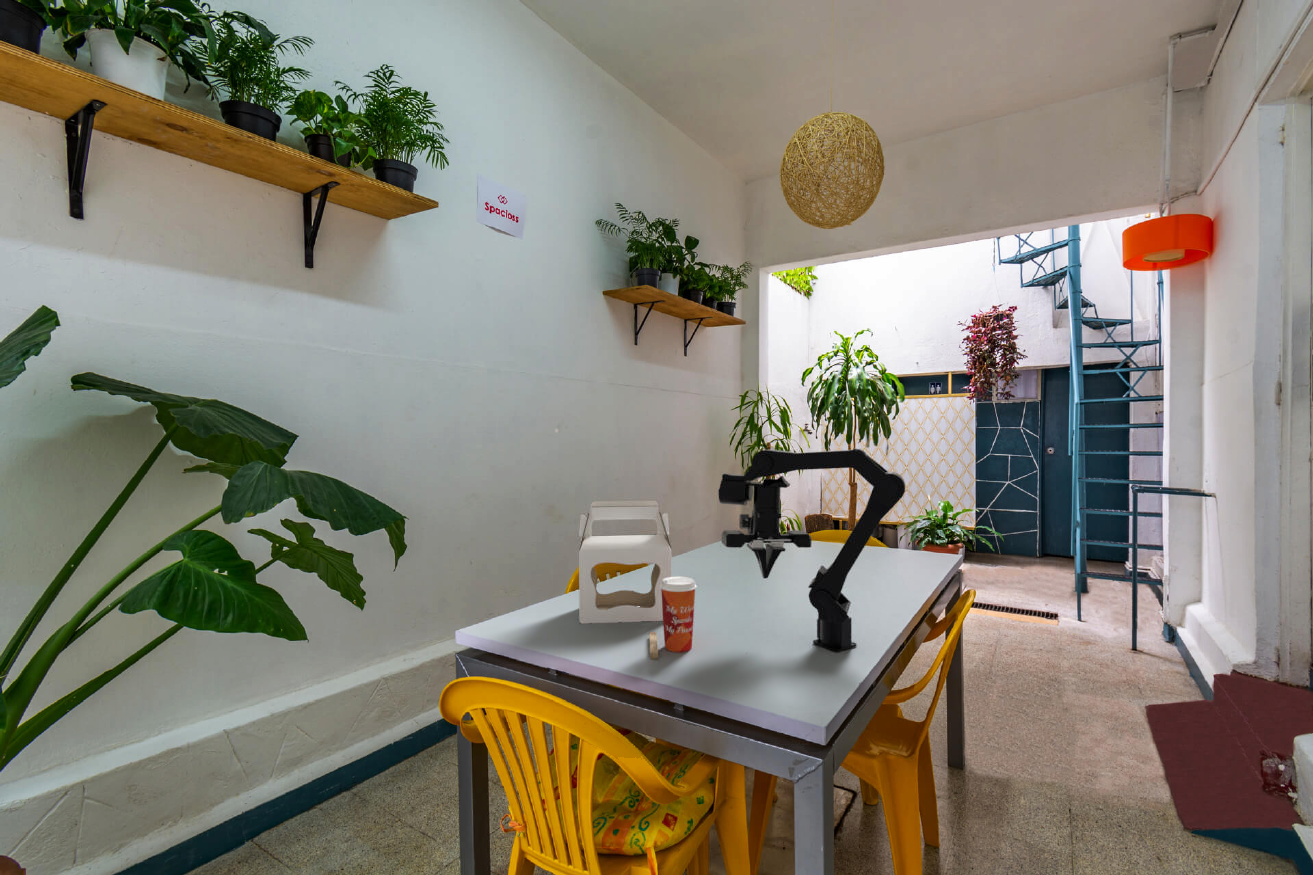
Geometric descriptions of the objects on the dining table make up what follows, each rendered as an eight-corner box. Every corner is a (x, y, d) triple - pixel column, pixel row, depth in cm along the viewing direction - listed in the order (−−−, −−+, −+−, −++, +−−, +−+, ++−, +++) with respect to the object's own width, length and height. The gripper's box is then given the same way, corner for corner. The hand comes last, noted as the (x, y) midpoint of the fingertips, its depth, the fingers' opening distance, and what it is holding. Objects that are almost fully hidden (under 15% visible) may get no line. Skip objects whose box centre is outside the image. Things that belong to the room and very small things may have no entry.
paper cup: (665, 655, 120) (665, 586, 120) (655, 642, 128) (655, 577, 127) (702, 651, 122) (702, 583, 122) (690, 639, 130) (690, 574, 129)
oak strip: (649, 637, 131) (649, 632, 131) (656, 637, 131) (656, 632, 131) (650, 658, 119) (650, 652, 119) (657, 658, 119) (657, 652, 119)
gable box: (578, 624, 140) (577, 504, 140) (580, 607, 153) (579, 498, 153) (672, 621, 142) (672, 503, 142) (666, 605, 155) (666, 497, 155)
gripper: (796, 502, 140) (794, 568, 140) (717, 501, 138) (715, 569, 138) (813, 509, 129) (811, 581, 129) (727, 508, 127) (726, 581, 127)
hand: (765, 577), depth 131 cm, fingers closed
